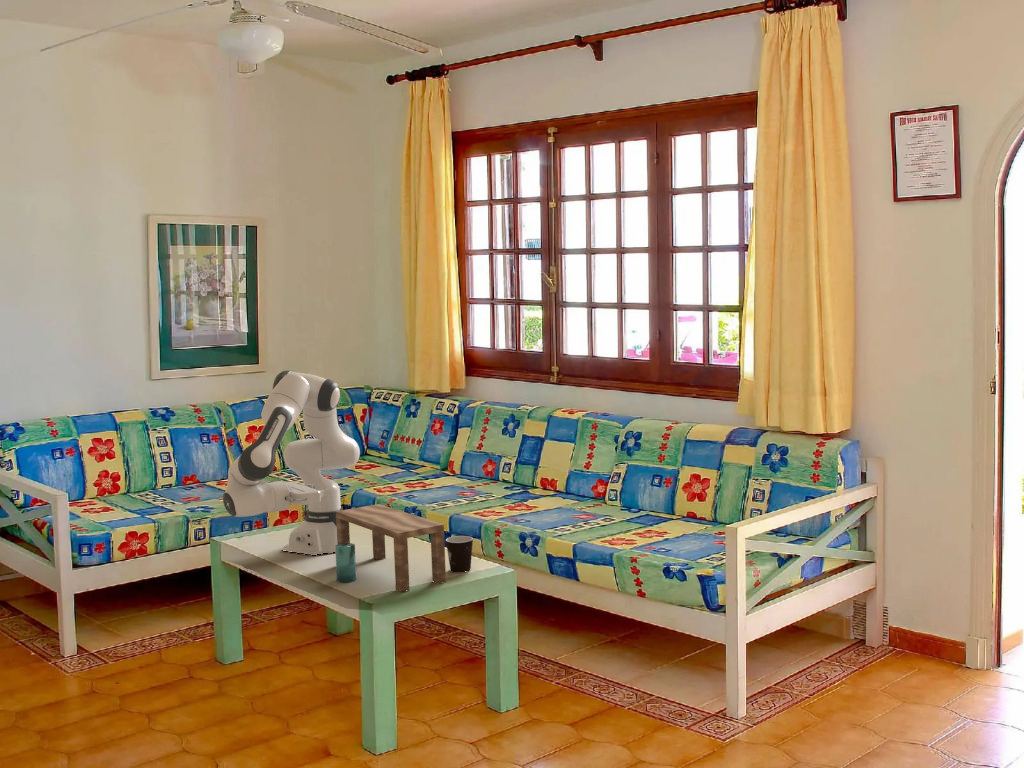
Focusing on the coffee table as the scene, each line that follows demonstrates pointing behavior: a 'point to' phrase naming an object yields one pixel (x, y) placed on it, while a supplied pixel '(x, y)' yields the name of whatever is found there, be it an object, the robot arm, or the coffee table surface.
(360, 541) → the coffee table surface
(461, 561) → the coffee mug
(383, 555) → the low shelf
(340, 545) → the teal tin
